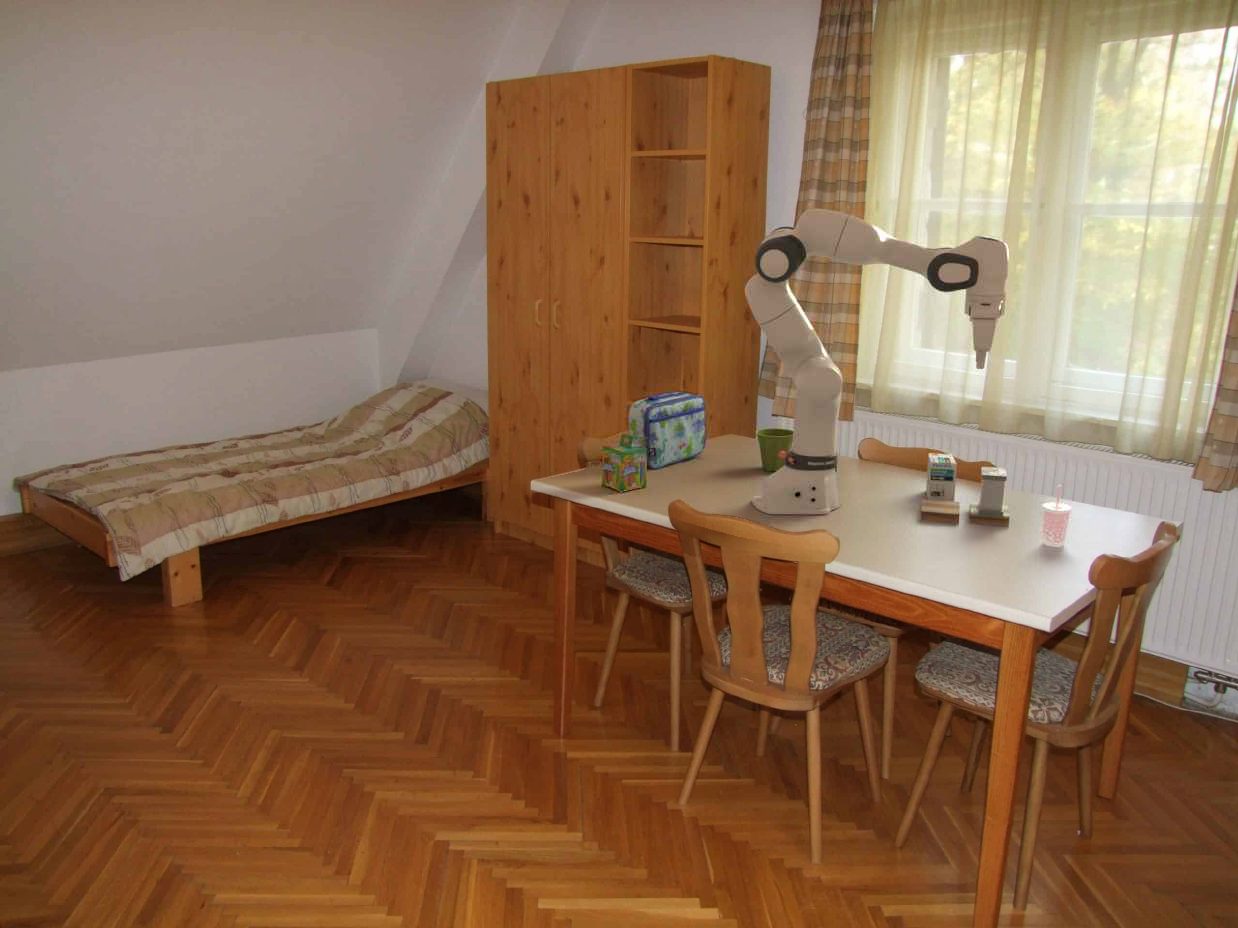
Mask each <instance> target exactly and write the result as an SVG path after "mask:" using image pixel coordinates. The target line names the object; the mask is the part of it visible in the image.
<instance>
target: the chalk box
mask: <svg viewBox="0 0 1238 928" xmlns="http://www.w3.org/2000/svg"><path fill="white" fill-rule="evenodd" d="M625 439H627V440H628V442H627V441H626V442H625ZM619 440H620V442H619V443H615V444H609V445H603V446H602V469H601V473H602V474H601V475H602V476H601V477H602V478H601V482H602V483H601V485H604V486H603V487H605V486H607V487H606V488H608V487H611V488H614V489H617V490H620V491H624V490H631V489H636V488H640V489H643V488H642V487H646V488H647V467H648V465H647V449H646V448H645V447H642V446H639V445H636V444H633V443H632V440H633V436H631V435H629V434H627V433H622V434H621V437H620V439H619ZM611 488H610V489H611ZM636 490H637V489H636ZM631 491H632V490H631Z"/></svg>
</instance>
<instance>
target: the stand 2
mask: <svg viewBox="0 0 1238 928" xmlns="http://www.w3.org/2000/svg"><path fill="white" fill-rule="evenodd" d="M978 502H979V501H977V500H974V501H973V500H970V501H969V524H976V525H977V524H978V525H989V526H1001V527H1009V526H1010V511H1009V509H1010V508H1009V504H1008V503H1003V517H997V516H985V515H979V512H978Z"/></svg>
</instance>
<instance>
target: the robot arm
mask: <svg viewBox="0 0 1238 928" xmlns="http://www.w3.org/2000/svg"><path fill="white" fill-rule="evenodd" d="M810 256H820V257H824V258H826V259H830V260H832V261H835V262H838V263H843V264H848V265H853V266H867V265H877V264H878V265H879V264H880V265H882V264H883V265H890V266H893V267H897V268H900V269H903V270H906V271H909V272H913V273H916V274H919V275H921V276H923V277H924V278H926V279H927V280H928V282H929V284H930V285H931V286H932V288H934V289H935V290H937V291H939V292H942V293H952V292H956V291H961V290H963V291H964V290H965V302H964V303H965V304H964V314H965V315H968V316H969V322H971V323H972V340H973V351H975V362H976V364H975V365H976V366H975V367H976V369H977V370H983V369H985V365H986V357H987V352H989V353H990V351H992V350H991V349H992V347H993V346H992V345H993V342H994V337H995V332H996V326H997V323H998V321H999V319H1000V317H1001V316H1004V315H1005V307H1006V297H1007V291H1006V280H1007V278H1008V274H1009V257H1010V256H1009V248H1008V245H1007V243H1006V242H1005V241H1004V240H1002V239H1000V238H996V237H992V236H988V235H975V236H974V237H972V238H971V239H969V240H967V241H966V242H963V243H962V244H960V245H957V246H955V247H938V248H929V247H924V246H920V245H918V244H914V243H911V242H908V241H905V240H901V239H898V238H896V237H893V236H892V235H890V234H888V233H886V232H885V231H883V230H882V229H881V228H878V227H877V226H876V225H874V224H872V223H870V222H869V221H866V220H864V219H862V218H860V217H857V216H855V215H854V216H853V215H851V214H850V215H849V214H848V213H844V212H841V211H836V210H830V209H823V208H809V209H806V210H805V211H804V212H803V213H802V214H801V215H800V217H799V218H798V220H797V222H796V225H795V227H792V226H780V227H778V228H775V229H774V230H772V231H771V232H770V233H769V234H768V235H766V237H765V238H763V240H762V241H761V243H760V246H759V247H758V248H757V250H756V253H755V257H754V265H755V269H756V272H757V273H756V274H755V275H753V276H752V277H751V278H750V279H749V280H748V281H747V283H746V284H745V288H744V294H745V297H746V300H747V303H748V305H749V308H750V310H751V312H752V314H753V317H754V318H755V321H756V322H757V324H758V326H759V327H760V328H761V330H762V332H763V333H764V335H765V337H766V338H767V340H768V341H769V343H770V345H771V346H772V348H773V350H774V351H775V353H776V355H777V356H778V358H779V359H780V362H781V363H782V365H783V366H784V368H785V370H786V371H787V373H788V374H789V376H790V378H791V380H792V381H793V383H794V385H795V386H796V401H795V411H794V417H793V425H792V426H793V427H792V430H793V443H792V449H791V452H789V453H786V452H785V451H781V453H779V455H780V456H779V457H780V458H782V459H783V460H785V465H784V466H783V467H781V468H780V469H779V470H777V471H774V472H773V473H772V474H770V475H769V476H768V477H767V478H765V480H764V481H763V483H762V487H761V492H760V493H761V494H760V495H754V496H753V498H752V505H753V506H754V507H755V508H756V509H757V510H758V511H761V512H762V513H764V514H767V515H828V514H829V513H830V512H831V511H833V510H837V509H838V508H839V507H840V501H839V497H838V490H837V481H836V479H837V478H836V477H837V476H836V473H837V469H838V452H837V435H838V434H837V433H838V432H837V431H838V420H839V416H840V415H839V413H840V409H841V402H842V401H841V400H842V393H843V391H842V390H843V383H844V382H843V381H844V380H843V375H842V372H841V370H840V368H839V367H838V366H837V365H836V364H835V363H834V361H833V360H832V358H831V357H830V355H829V354H828V352H827V350H826V349H825V346H824V344H823V343H822V341H821V339H820V337H819V336H818V334H817V332H816V330H815V328H814V327H813V325H812V323H811V321H810V320H809V318H808V316H807V315H806V313H805V311H804V310H803V308H802V307H801V305H800V303H799V302H798V300H797V298H796V296H795V295H794V293H793V291H792V290H791V287H790V283H789V279H791V278H793V276H795V274H796V273H797V272H798V271H799V269H800V268H801V266H802V264H803V263H804V262H805V260H806V259H807V258H808V257H810Z"/></svg>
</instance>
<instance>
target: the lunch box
mask: <svg viewBox="0 0 1238 928" xmlns="http://www.w3.org/2000/svg"><path fill="white" fill-rule="evenodd" d="M705 406H706V405H705V399H704V397H703V396H702V395H700V394H692V393H685V392H679V391H677V392H670V393H664V394H659V395H653V396H650V395H647V397H645V398H643V399H639V400H637V401H635V402H633V404H631V406H630V409H629V413H628V435H631V436H633V440H632V443H633V444H636V445H639V446H642V447H645V448H646V449H647V467H649V468H651V469H652V470H657V469H661V468H663V467H665V466H666V467H667V466H669V465H672V464H676V463H679V462H682V461H685V460H689V459H693V458H694V457H699V456H700V455H701V454H702V453H703V452H704V449H705V446H706V440H707V439H706V437H707V430H706V407H705Z"/></svg>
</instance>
